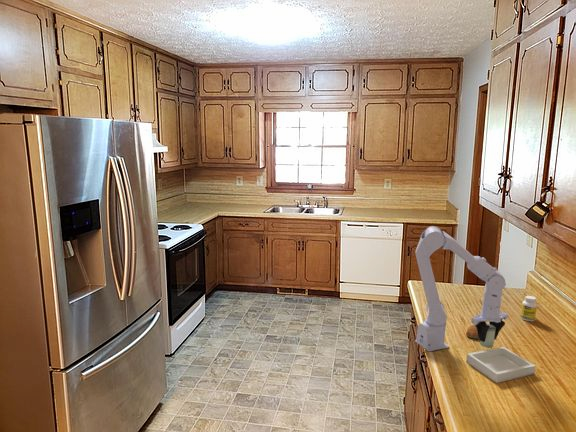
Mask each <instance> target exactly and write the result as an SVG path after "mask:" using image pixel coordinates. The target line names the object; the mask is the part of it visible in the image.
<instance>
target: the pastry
mask: <svg viewBox="0 0 576 432" xmlns="http://www.w3.org/2000/svg"><path fill="white" fill-rule="evenodd" d="M466 337H469V338H471V339H474V340H477V339H479V337H478V332H477V328H476V326H475V324H472V325H470V326H469V327H468V328H467V330H466Z"/></svg>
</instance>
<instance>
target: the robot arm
mask: <svg viewBox="0 0 576 432" xmlns="http://www.w3.org/2000/svg"><path fill="white" fill-rule="evenodd" d="M440 248H441V249H442V250H450V251H451V252H452V253H453V254H455V255H456V256H457V257H459V258H460V259H462V260H463V262H466V265H467V266H466V267H467V269H468V270H469V271H470V272H471V273H473V274H474V275H475V276H477V278H479V279H480V280H482V281H484V283H485V285H484V291H483V298H482V305H481V312H480V313H479V314H477V315H476V316H472V317H471V320H470V323H471V324H472V325H474V324H475V326H476V328H477V332H478V337H479V338H478V340H479V342H480V341H482V342H485V339H486V334H487V331H488V329H489V328H490V326H488V325H486V324H487V323H488V322H489V323H488V324H490V325H493V326H495V327H496V330H495V337H494V341H496V340H497V338H498V335H499V333H500V331H501V330H502V329H503V327H505V325H506V322H505V321H504V320H508V317H509V314H508V313H506V312H504V311H502V312H501V306H502V296H503V290H504V288H506V285H507V283H506V279H505V278H504V276H503V274H502V273H501V272H500V271H499V269H498V268H496V266H494V267H493V266H492V265H490V263H488V261H487V259H486V258H485V257H484V256H483V257H481V256H479V255H473V254H472V253H471V252H469V251H468V250H467V249H466V248H465V247H463V245H462V244H460V242H458V241H457V240H456V239H455V238H454V237H452V236H451V235H449V234H448V233H447V232H446V231H444V230H442V229H440V228H439V226H435V225H431V226H428V227H426V229H425V230H424V231H422V233H421V235H420V238H419V240H418V244H417V246H416V249H415V258H416V261H417V262H416V263H417V267H418V271H419V274H420V275H419V276H420V279H421V283H422V287H423V289H424V290H423V291H424V294H425V298H426V299H425V300H426V303H427V304H426V312H427V316H426V318H425V320H424V321H423V322H421V323H419V324H418V325H417V330H416V339H415V340H414V342H415V343H417V344H418V345H419V346H420V347H422V348H423V349H424V350H425V351H427V352H431V351H438V350H443V349H448V348H450V345H449V344H447V343H446V342H445V338H446V327H447V321H448V316H447V314H446V310H445V305H444V304H443V303H442V301H441V299H440V296H439V295H440V294H439V292H438V288H437V284H436V280H435V276H434V271H433V268H432V263H431V258H430V257H431V255H432V254H433V253H435V251H437V250H439V249H440Z"/></svg>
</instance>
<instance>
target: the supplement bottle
mask: <svg viewBox="0 0 576 432" xmlns="http://www.w3.org/2000/svg"><path fill="white" fill-rule="evenodd" d="M536 302H537V297H536V296H534V295H533V296H532V295H526V296H525V297H524V300H523V301H522V304H521V310H520V311H521V312H520V318H521V320H523V321H526V322H534V321H535V320H536V315H537V308H538V304H537V303H536Z"/></svg>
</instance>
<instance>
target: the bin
mask: <svg viewBox="0 0 576 432" xmlns="http://www.w3.org/2000/svg"><path fill="white" fill-rule="evenodd" d="M465 361H466V363H467V364H469V365H470V366H471V367H473V368H474V369H476V370H477V371H479V372H480V373H482V374H483V375H484V376H486V378H489V379H490V380H492V381H493V382H494V383H495V384H497V383H501V382H505V381H506V382H507V381H511V380H515V379H519V378H524V377H527V376H532V375H535V372H536V365H535V364H533V363H532V362H530V361H528V360H527V359H525V358H523V357H521V356H520V355H518V354H516V353H514V352H513V351H511V350H510V349H508V348H507V347H505V346H500V347H495V348H494V347H493V348H488V349H484V350H478V351H474V352H469V353H468V352H467V353H466V359H465Z"/></svg>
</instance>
